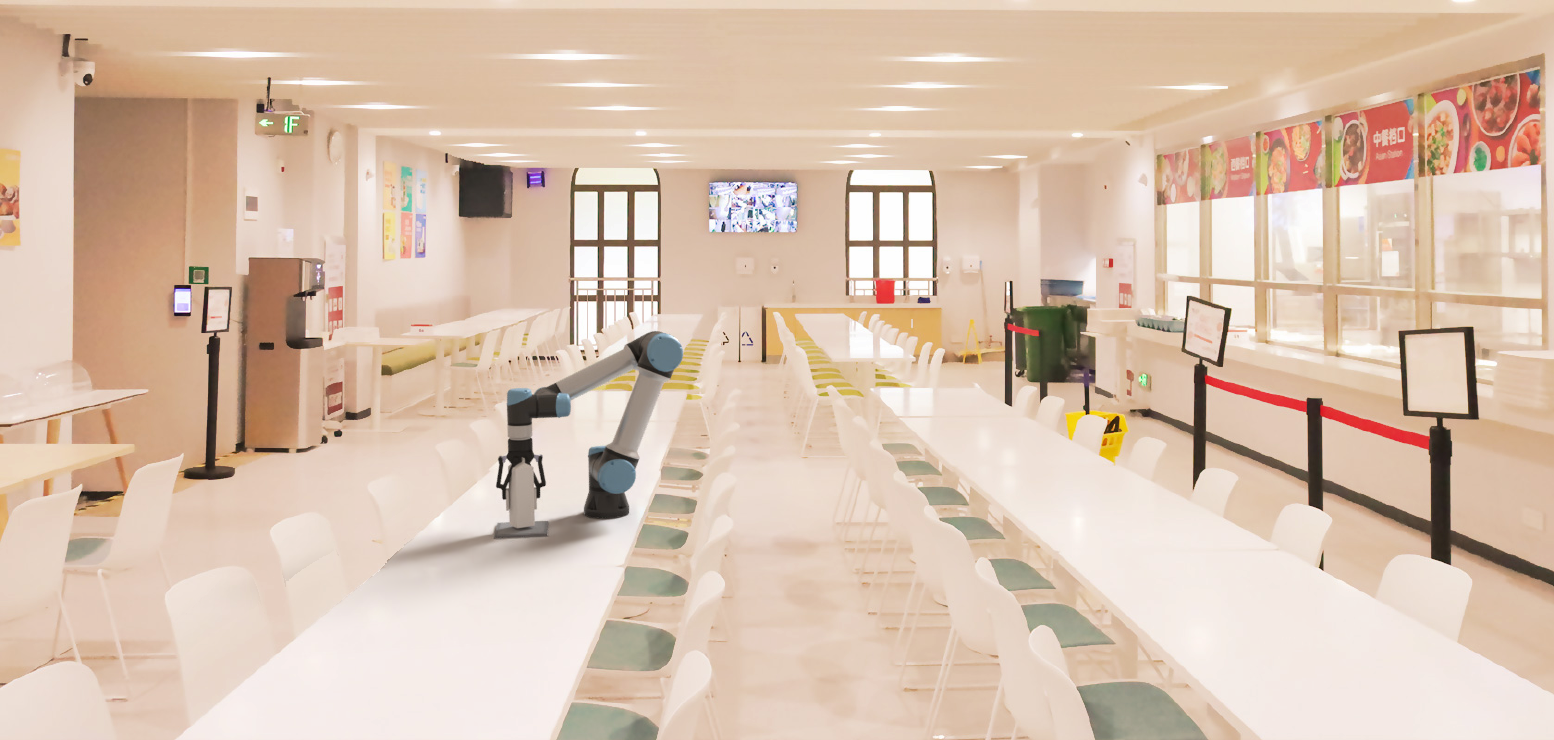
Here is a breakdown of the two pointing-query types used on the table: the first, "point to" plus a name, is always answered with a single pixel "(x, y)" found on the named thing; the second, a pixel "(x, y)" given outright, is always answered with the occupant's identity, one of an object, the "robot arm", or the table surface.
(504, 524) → the mat
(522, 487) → the milk
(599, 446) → the robot arm
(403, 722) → the table surface
